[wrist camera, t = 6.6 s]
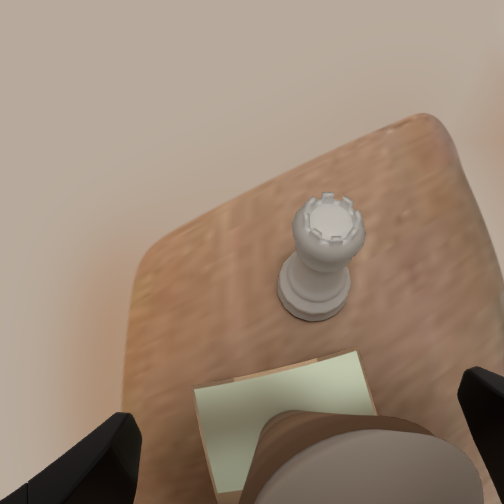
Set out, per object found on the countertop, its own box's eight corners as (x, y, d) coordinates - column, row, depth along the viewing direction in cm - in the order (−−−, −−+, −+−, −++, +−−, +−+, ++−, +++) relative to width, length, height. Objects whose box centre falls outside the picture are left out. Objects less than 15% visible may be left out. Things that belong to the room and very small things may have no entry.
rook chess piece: (271, 318, 19) (270, 257, 12) (282, 253, 21) (284, 169, 14) (344, 327, 19) (386, 272, 11) (349, 261, 21) (381, 182, 14)
